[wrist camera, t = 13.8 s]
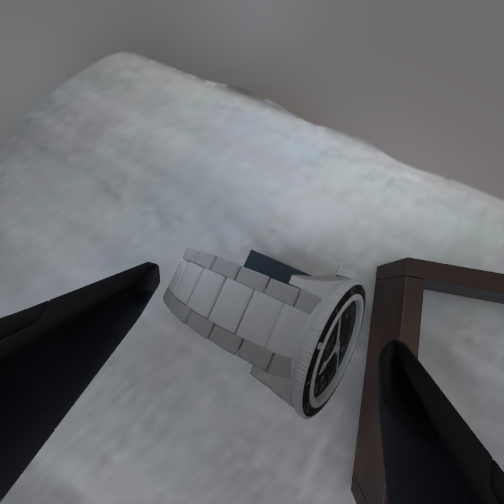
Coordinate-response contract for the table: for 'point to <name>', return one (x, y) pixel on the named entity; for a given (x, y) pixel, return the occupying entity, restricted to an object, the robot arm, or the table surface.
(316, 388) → the watch
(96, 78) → the table surface
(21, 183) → the table surface
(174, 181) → the table surface
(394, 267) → the tray
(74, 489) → the table surface
